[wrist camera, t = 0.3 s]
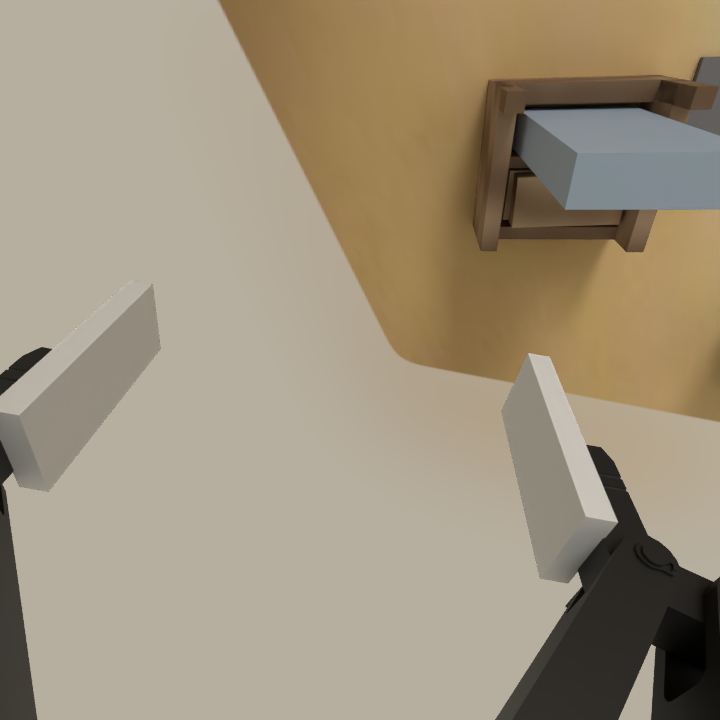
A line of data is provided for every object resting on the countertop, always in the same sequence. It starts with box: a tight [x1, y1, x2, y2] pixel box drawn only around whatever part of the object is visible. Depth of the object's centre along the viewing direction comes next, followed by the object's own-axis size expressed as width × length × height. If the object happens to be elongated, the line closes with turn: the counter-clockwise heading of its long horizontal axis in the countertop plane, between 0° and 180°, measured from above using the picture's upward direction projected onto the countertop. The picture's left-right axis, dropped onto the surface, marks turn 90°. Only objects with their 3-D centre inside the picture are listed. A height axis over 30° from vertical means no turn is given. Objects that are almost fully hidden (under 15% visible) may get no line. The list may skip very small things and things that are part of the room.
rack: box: [473, 75, 719, 252], centre depth 34 cm, size 11×12×8 cm
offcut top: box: [509, 172, 623, 228], centre depth 36 cm, size 4×8×2 cm, turn 94°
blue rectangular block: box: [512, 105, 720, 210], centre depth 28 cm, size 3×8×16 cm, turn 92°
